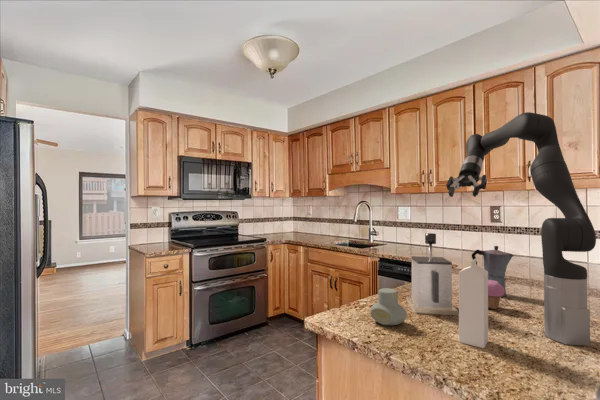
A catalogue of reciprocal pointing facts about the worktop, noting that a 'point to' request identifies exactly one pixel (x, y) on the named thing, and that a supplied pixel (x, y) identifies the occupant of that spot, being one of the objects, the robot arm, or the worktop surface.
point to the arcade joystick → (431, 286)
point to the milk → (473, 305)
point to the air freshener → (388, 308)
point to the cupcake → (494, 293)
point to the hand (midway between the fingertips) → (462, 195)
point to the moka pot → (495, 264)
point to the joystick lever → (430, 242)
